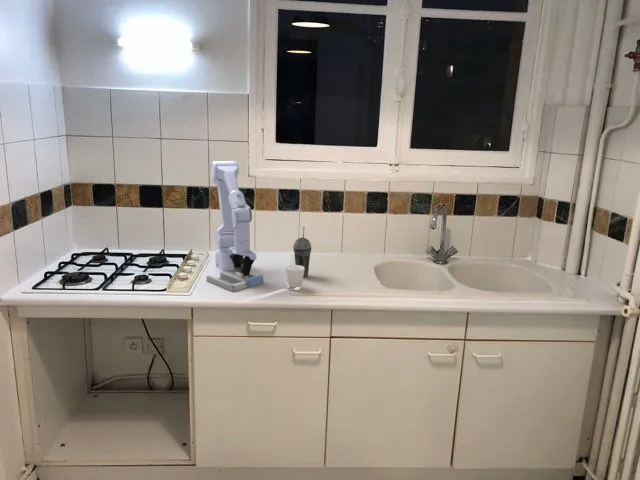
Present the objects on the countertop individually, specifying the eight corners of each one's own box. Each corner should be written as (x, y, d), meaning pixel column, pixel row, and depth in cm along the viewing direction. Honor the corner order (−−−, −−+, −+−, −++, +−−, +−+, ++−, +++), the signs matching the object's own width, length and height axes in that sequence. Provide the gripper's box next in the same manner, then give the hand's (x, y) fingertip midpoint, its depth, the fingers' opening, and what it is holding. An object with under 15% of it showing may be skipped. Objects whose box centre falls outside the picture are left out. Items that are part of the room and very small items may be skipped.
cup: (284, 291, 194) (284, 270, 192) (286, 282, 203) (286, 262, 201) (304, 291, 194) (304, 270, 192) (305, 283, 203) (305, 262, 201)
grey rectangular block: (235, 280, 202) (235, 267, 201) (242, 278, 204) (242, 265, 203) (241, 282, 199) (240, 269, 198) (248, 280, 202) (248, 267, 201)
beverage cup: (289, 277, 210) (290, 227, 205) (297, 272, 216) (298, 224, 211) (306, 279, 207) (307, 229, 202) (313, 274, 214) (314, 226, 209)
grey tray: (205, 283, 200) (205, 273, 199) (238, 275, 210) (238, 265, 209) (231, 294, 189) (231, 283, 188) (264, 285, 199) (264, 275, 198)
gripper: (221, 237, 200) (222, 271, 203) (245, 244, 190) (245, 280, 194) (236, 234, 205) (237, 268, 208) (260, 241, 195) (260, 276, 198)
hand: (242, 274), depth 201 cm, fingers open, 4 cm apart
